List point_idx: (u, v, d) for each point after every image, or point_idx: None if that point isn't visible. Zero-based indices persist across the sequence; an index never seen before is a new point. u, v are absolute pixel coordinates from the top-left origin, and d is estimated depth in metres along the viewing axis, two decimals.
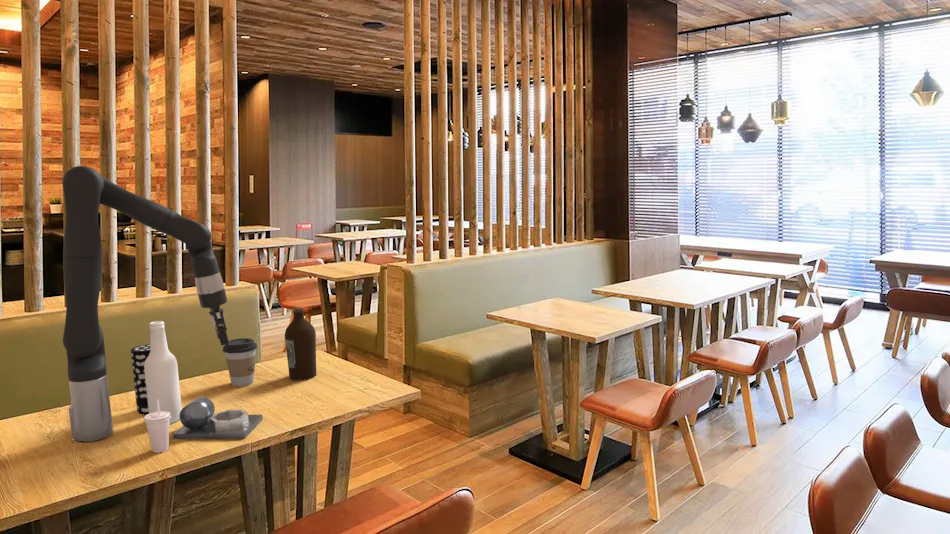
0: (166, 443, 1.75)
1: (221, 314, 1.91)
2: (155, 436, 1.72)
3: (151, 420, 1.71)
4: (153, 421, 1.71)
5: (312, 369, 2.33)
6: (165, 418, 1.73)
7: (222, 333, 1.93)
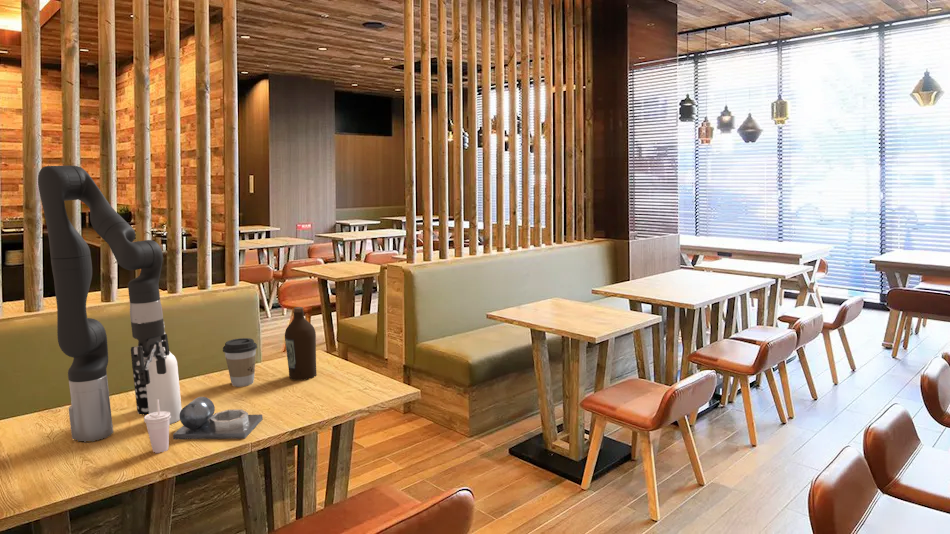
0: (166, 443, 1.75)
1: (139, 350, 1.64)
2: (155, 436, 1.72)
3: (151, 420, 1.71)
4: (153, 421, 1.71)
5: (312, 369, 2.33)
6: (165, 418, 1.73)
7: (141, 371, 1.67)
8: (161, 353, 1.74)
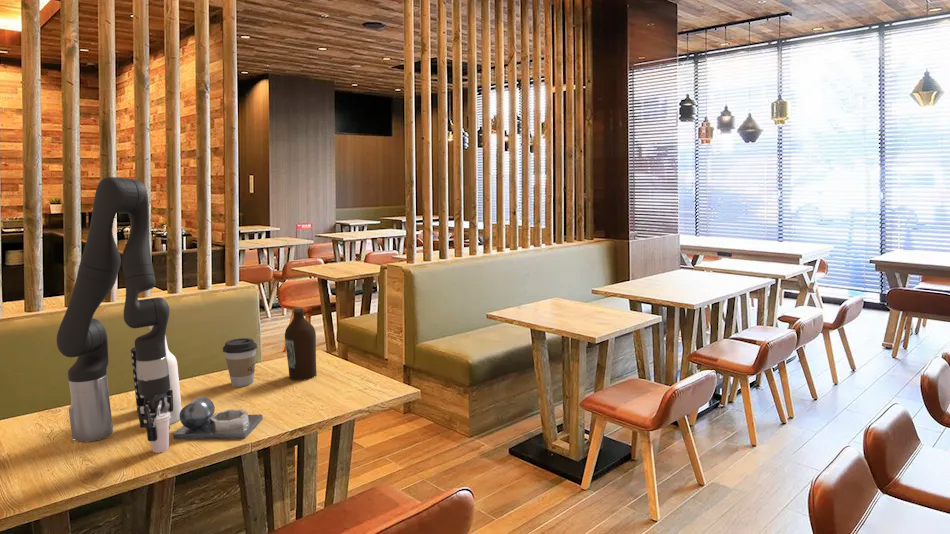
0: (166, 443, 1.75)
1: (145, 410, 1.67)
2: None
3: (151, 420, 1.71)
4: None
5: (312, 369, 2.33)
6: (165, 418, 1.73)
7: (148, 428, 1.70)
8: (165, 409, 1.76)
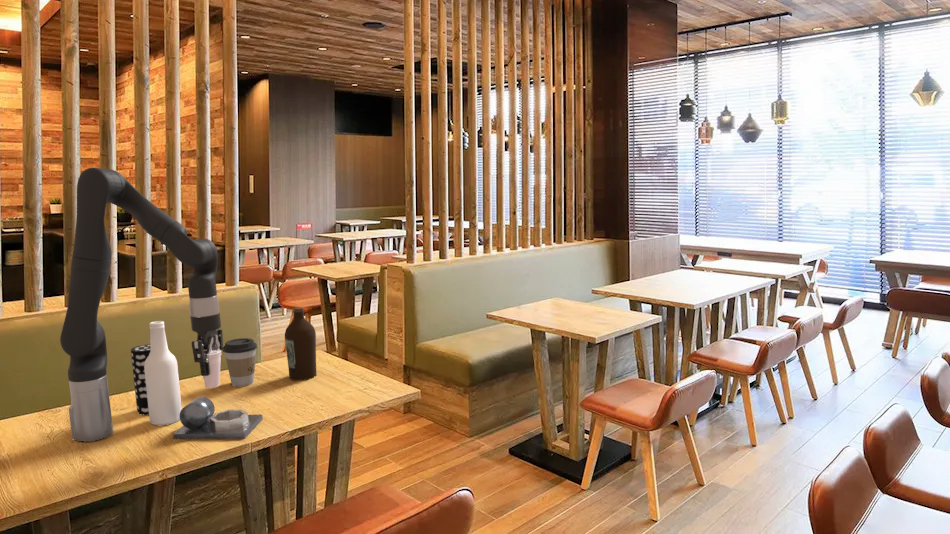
0: (218, 378, 1.83)
1: (199, 345, 1.75)
2: None
3: None
4: None
5: (312, 369, 2.33)
6: (217, 354, 1.81)
7: (202, 363, 1.78)
8: (216, 347, 1.84)
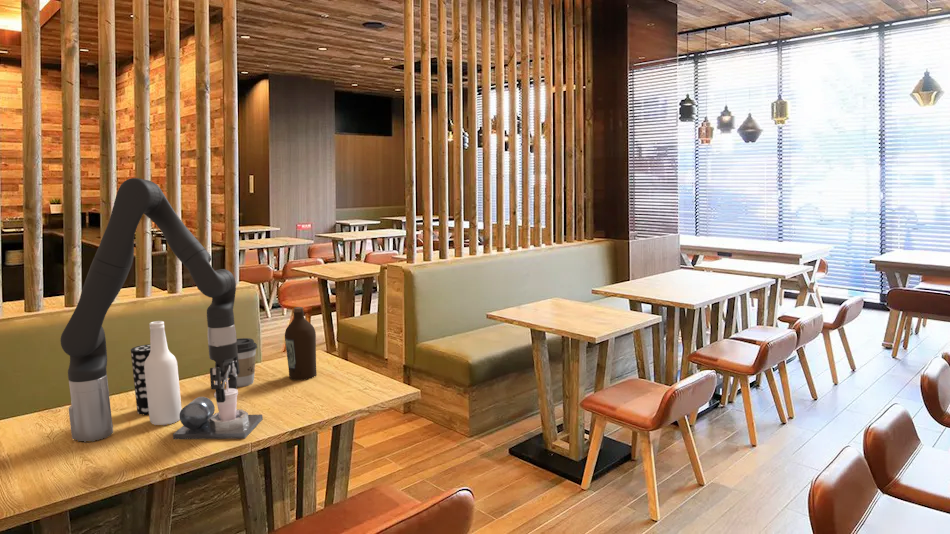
0: (234, 417, 1.87)
1: (217, 371, 1.79)
2: (224, 411, 1.85)
3: None
4: None
5: (312, 369, 2.33)
6: (234, 394, 1.85)
7: (218, 390, 1.82)
8: (233, 373, 1.89)
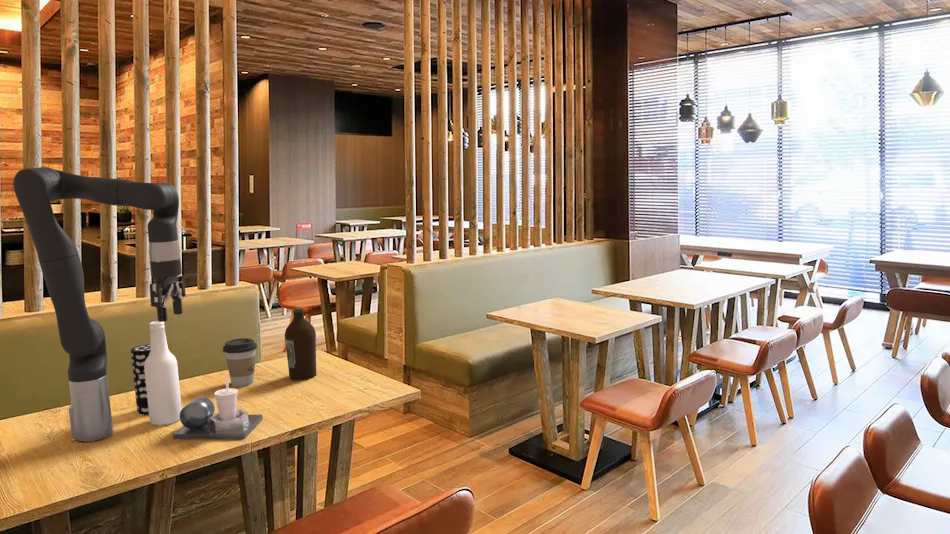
0: (234, 417, 1.87)
1: (157, 287, 1.70)
2: (224, 411, 1.85)
3: (221, 396, 1.84)
4: (223, 397, 1.84)
5: (312, 369, 2.33)
6: (234, 394, 1.86)
7: (159, 308, 1.72)
8: (178, 293, 1.80)
